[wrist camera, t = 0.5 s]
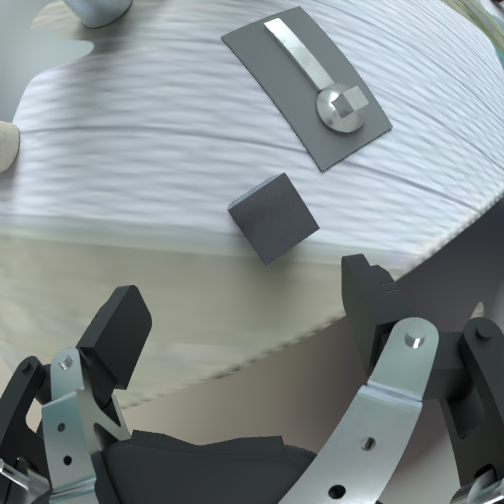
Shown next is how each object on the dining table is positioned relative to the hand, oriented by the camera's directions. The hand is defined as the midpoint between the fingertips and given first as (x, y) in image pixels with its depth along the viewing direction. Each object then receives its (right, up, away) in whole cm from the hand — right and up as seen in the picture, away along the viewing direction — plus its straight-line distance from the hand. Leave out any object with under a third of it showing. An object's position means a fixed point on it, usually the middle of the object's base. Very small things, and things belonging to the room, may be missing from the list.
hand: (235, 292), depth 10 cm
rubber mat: (+9, +26, +21) cm, 34 cm away
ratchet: (+9, +26, +21) cm, 34 cm away
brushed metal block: (+2, +7, +25) cm, 26 cm away
